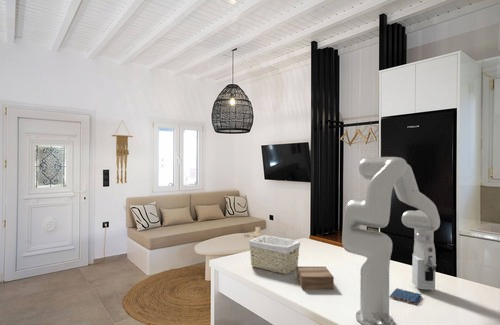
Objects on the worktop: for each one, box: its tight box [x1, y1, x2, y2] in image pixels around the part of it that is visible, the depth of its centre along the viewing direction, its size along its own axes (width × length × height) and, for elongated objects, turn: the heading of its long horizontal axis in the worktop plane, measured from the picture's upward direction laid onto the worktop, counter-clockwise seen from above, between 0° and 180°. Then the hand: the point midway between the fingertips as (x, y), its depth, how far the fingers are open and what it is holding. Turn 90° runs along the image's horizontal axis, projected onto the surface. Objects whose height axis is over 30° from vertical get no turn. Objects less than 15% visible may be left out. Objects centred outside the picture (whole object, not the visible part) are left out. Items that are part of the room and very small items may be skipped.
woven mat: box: [389, 287, 423, 306], centre depth 129 cm, size 10×11×2 cm
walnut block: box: [296, 265, 335, 291], centre depth 143 cm, size 14×14×6 cm
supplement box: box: [411, 255, 436, 291], centre depth 137 cm, size 7×7×13 cm
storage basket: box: [248, 234, 301, 275], centre depth 166 cm, size 24×16×15 cm
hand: (423, 277), depth 137 cm, fingers closed on supplement box, 8 cm apart
